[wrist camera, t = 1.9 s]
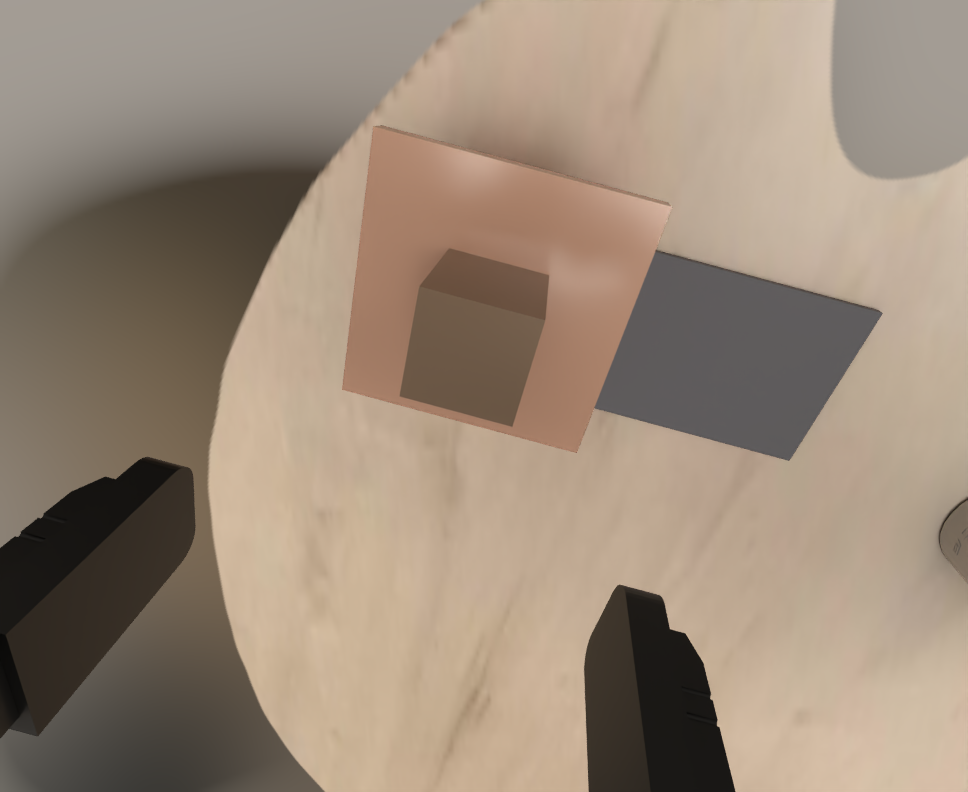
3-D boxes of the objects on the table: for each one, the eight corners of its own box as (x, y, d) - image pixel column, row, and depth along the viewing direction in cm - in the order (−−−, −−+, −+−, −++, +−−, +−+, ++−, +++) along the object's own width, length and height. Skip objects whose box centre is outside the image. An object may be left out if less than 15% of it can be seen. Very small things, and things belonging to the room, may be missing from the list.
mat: (878, 310, 36) (882, 313, 35) (786, 456, 41) (789, 460, 41) (639, 245, 36) (641, 248, 35) (582, 401, 41) (582, 404, 41)
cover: (668, 202, 20) (703, 237, 15) (576, 440, 26) (579, 527, 20) (381, 125, 20) (318, 133, 15) (349, 379, 26) (294, 450, 20)
